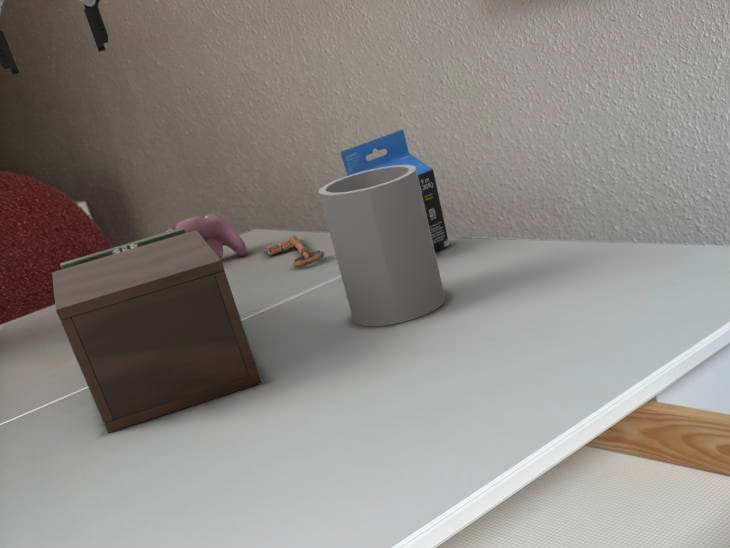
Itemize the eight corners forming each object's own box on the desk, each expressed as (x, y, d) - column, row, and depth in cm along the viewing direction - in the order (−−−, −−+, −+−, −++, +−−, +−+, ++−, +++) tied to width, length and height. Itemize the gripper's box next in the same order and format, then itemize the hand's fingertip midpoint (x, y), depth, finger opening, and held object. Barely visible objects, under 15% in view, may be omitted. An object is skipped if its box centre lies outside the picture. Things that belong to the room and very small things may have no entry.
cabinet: (98, 383, 107) (51, 272, 101) (234, 340, 109) (196, 229, 103) (107, 433, 94) (55, 309, 88) (261, 383, 96) (220, 259, 90)
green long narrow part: (93, 338, 117) (58, 254, 113) (206, 303, 120) (177, 219, 115) (103, 388, 102) (64, 293, 97) (234, 346, 104) (201, 252, 99)
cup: (444, 313, 102) (413, 178, 95) (349, 333, 103) (312, 201, 96) (445, 285, 109) (417, 158, 103) (357, 304, 110) (324, 180, 104)
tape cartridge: (390, 273, 118) (360, 151, 111) (368, 270, 121) (338, 152, 114) (451, 245, 122) (425, 127, 115) (429, 244, 125) (402, 128, 118)
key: (267, 252, 140) (280, 276, 127) (264, 245, 139) (277, 269, 127) (309, 236, 140) (327, 258, 128) (306, 229, 140) (324, 251, 127)
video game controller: (242, 264, 143) (215, 213, 142) (252, 250, 139) (224, 198, 138) (176, 290, 138) (147, 238, 137) (184, 276, 134) (155, 223, 133)
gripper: (61, -148, 103) (126, 43, 112) (-92, -114, 101) (-13, 79, 110) (63, -159, 97) (132, 44, 106) (-100, -122, 95) (-15, 83, 103)
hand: (59, 62), depth 108 cm, fingers open, 8 cm apart
